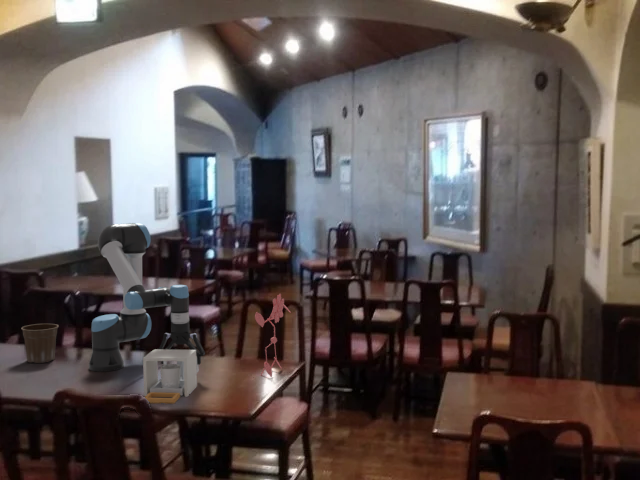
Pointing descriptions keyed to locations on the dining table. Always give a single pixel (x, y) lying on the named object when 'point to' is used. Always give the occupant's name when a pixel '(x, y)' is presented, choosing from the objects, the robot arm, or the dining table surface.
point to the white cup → (170, 376)
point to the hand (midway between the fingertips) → (181, 371)
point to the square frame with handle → (171, 390)
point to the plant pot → (40, 342)
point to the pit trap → (162, 397)
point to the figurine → (275, 314)
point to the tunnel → (170, 355)
